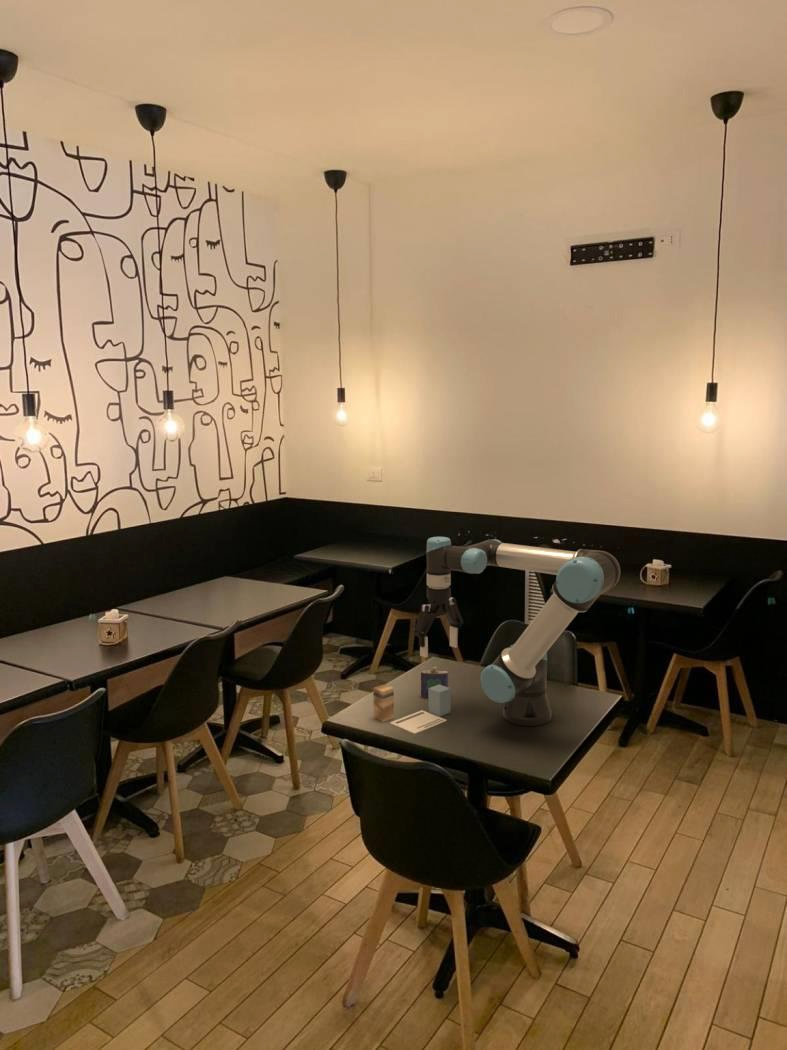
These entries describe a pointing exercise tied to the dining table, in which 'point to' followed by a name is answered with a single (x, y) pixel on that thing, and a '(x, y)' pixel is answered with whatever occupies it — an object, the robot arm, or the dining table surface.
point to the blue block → (439, 700)
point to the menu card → (418, 722)
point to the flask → (432, 680)
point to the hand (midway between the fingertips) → (439, 651)
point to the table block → (383, 703)
